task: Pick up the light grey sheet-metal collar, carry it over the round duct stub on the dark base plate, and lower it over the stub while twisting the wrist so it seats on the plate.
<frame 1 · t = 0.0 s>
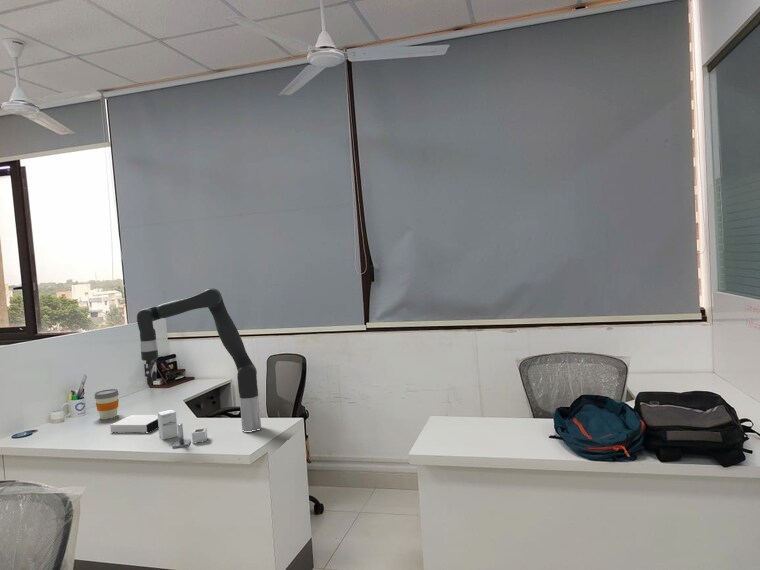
hand: (152, 382, 255), 29 cm above the table, tool pointing down, fingers open, 8 cm apart
supplement box: (168, 437, 263), on the table
duct stub: (181, 444, 249), on the table
disc drive: (140, 428, 282), on the table
reusable coffee cup: (108, 417, 308), on the table
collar: (200, 440, 253), on the table
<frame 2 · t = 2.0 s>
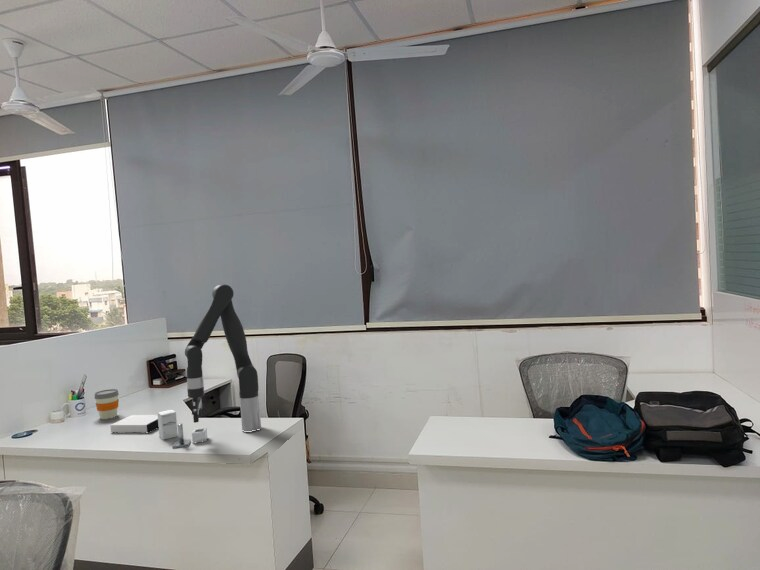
hand: (197, 419, 253), 10 cm above the table, tool pointing down, fingers open, 8 cm apart
nothing on the table moved.
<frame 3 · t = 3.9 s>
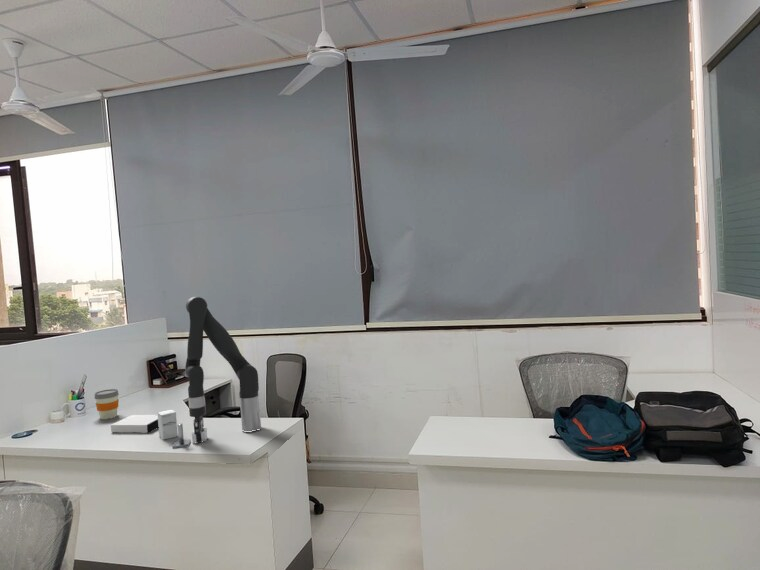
hand: (200, 439, 253), 1 cm above the table, tool pointing down, fingers closed on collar, 6 cm apart
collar: (200, 440, 253), on the table, touching gripper
everything else where it was.
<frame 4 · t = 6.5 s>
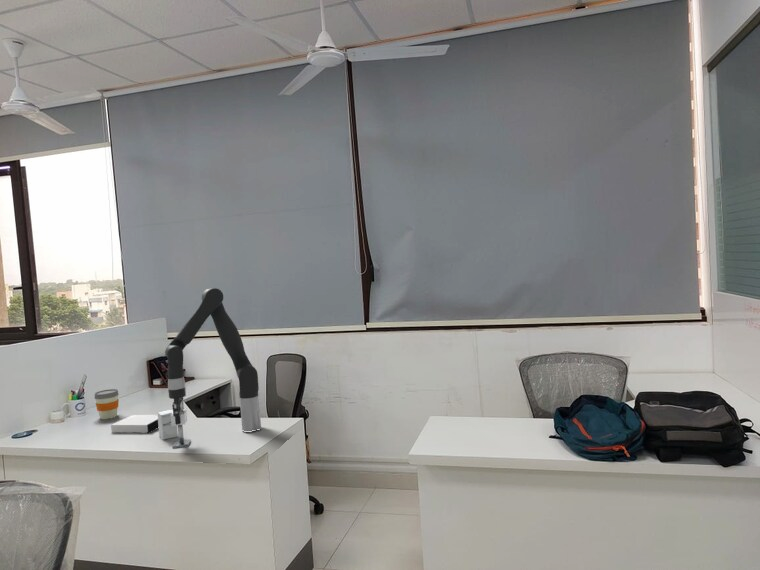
hand: (179, 422, 248), 11 cm above the table, tool pointing down, fingers closed on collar, 6 cm apart
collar: (179, 423, 248), point 10 cm above the table, touching gripper
everything else where it was.
when the fingers open (4 cm above the table, at t = 9.1 s): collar drops 2 cm, resting on duct stub.
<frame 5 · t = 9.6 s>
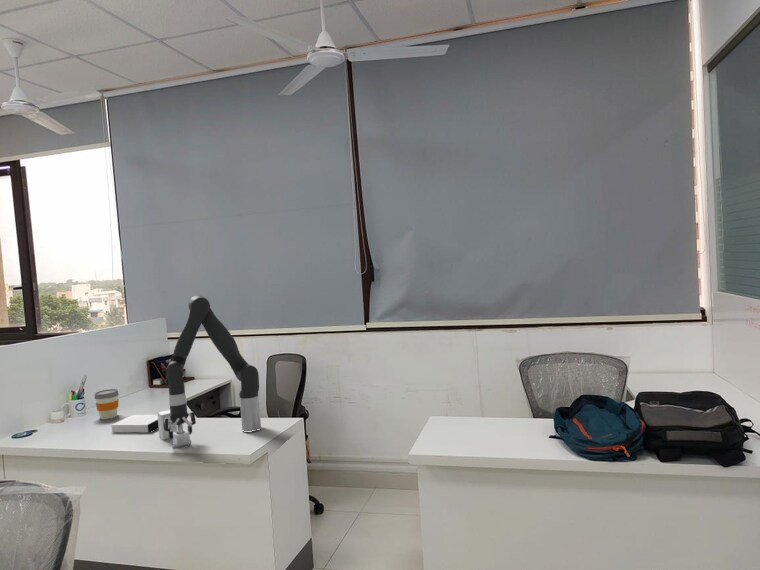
hand: (180, 436, 249), 4 cm above the table, tool pointing down, fingers open, 8 cm apart
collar: (181, 442, 249), point 1 cm above the table, touching duct stub
everything else where it was.
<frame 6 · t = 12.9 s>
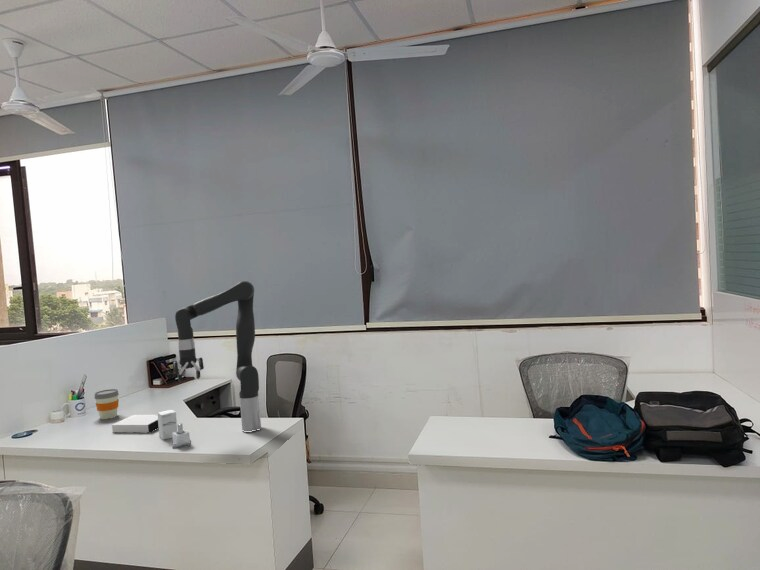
hand: (189, 380, 260), 28 cm above the table, tool pointing down, fingers open, 8 cm apart
nothing on the table moved.
at the end: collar 0.0 cm from the duct stub (horizontally); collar point 1.0 cm above the table; the gripper is holding nothing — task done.
